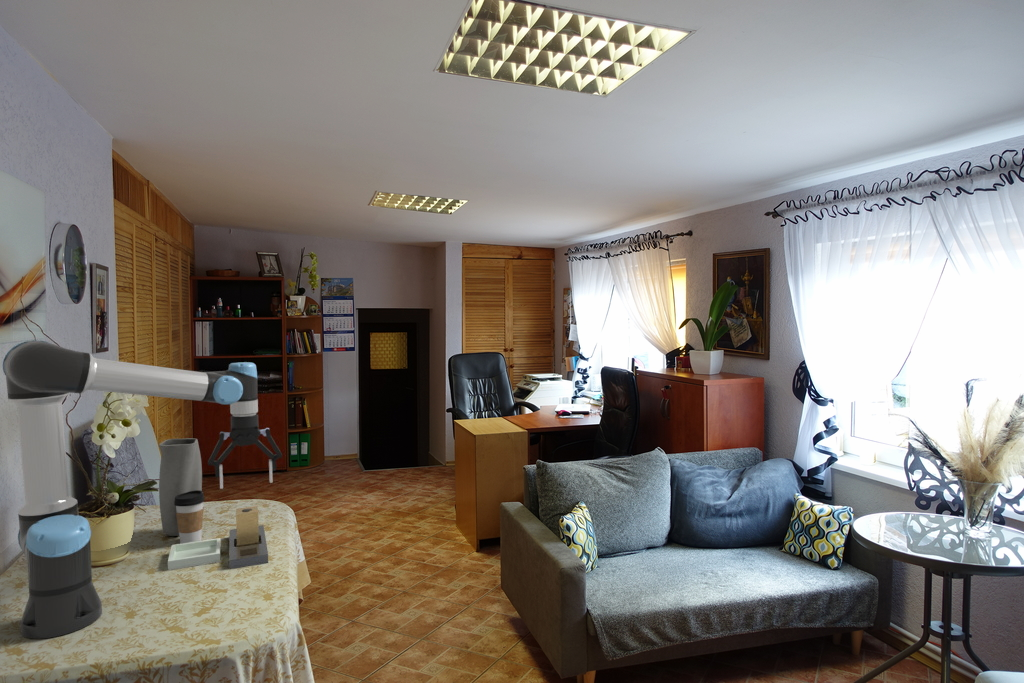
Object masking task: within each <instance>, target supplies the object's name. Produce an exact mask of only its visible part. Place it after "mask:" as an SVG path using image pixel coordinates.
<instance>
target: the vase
mask: <svg viewBox="0 0 1024 683" xmlns="http://www.w3.org/2000/svg"><path fill="white" fill-rule="evenodd" d="M158 446H159V450H160V453H161V456H160V466H159V476H158V477H159V478H158V479H159V480H158V484H159V485H158V492H159V493H158V494H159V496H158V499H159V510H160V520H161V527H162V531H163V533H164V534H165V535H166V536H169V537H177V536H178V537H179V530H178V523H177V516H176V506H175V505H174V501H175V497H176V496H177V495H179V494H182V493H186V492H190V491H195V490H200V491H203V490H202V489H203V488H202V487H203V486H202V485H203V468H202V467H203V466H202V457H201V455H202V454H201V450H200V445H199V441H198V438H193V437H192V438H191V437H190V438H169V439H166V440H164V441H163V442H161V443H159V444H158Z"/></svg>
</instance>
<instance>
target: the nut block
mask: <svg viewBox="0 0 1024 683" xmlns="http://www.w3.org/2000/svg"><path fill="white" fill-rule="evenodd" d="M235 520H236V523H235V524H236V525H235V526H236V527H235V529H236V531H237V547H242V546H249V545H255V544H260V543H259V526H260V525H259V507H258V505H254V506H247V507H240V508H235Z"/></svg>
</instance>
